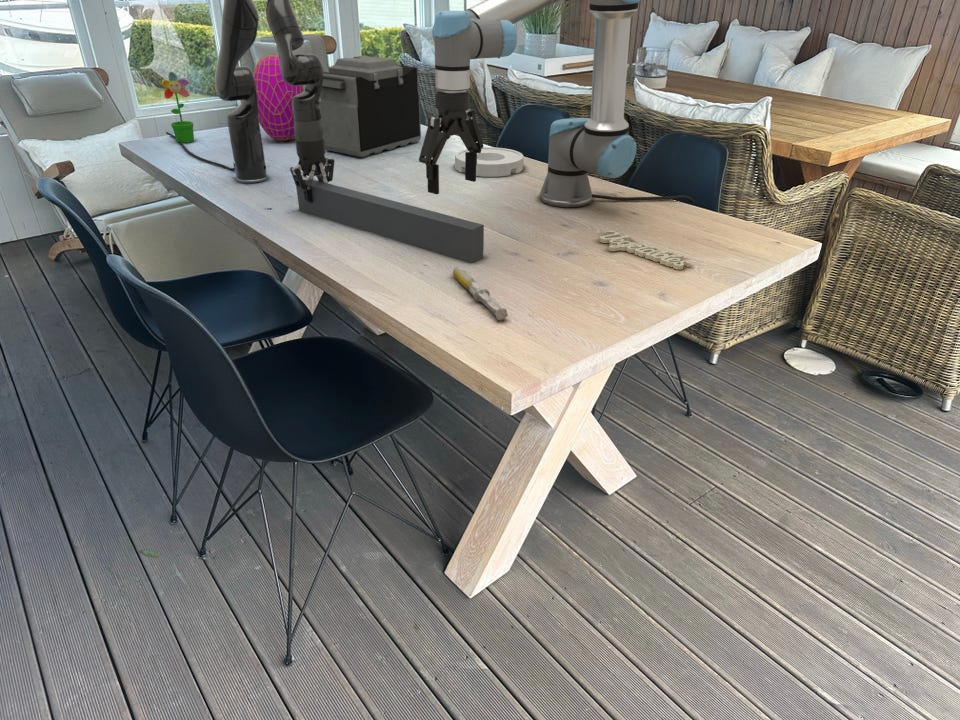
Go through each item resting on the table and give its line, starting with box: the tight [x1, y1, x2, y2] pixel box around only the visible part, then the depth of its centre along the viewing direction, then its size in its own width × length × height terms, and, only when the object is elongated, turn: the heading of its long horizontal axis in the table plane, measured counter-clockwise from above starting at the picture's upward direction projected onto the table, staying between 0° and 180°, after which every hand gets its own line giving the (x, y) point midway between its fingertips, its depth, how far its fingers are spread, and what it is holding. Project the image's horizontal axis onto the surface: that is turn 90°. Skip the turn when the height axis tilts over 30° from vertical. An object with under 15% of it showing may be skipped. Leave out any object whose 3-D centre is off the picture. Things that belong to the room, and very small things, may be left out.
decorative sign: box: [599, 230, 690, 270], centre depth 167 cm, size 26×1×10 cm
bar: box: [296, 179, 485, 264], centre depth 176 cm, size 61×4×8 cm, turn 53°
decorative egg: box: [252, 54, 305, 142], centre depth 257 cm, size 19×19×30 cm
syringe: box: [452, 266, 509, 321], centre depth 145 cm, size 25×4×3 cm, turn 21°
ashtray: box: [454, 146, 525, 178], centre depth 232 cm, size 23×23×4 cm
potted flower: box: [160, 71, 195, 144], centre depth 255 cm, size 9×8×25 cm
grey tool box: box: [320, 55, 422, 159], centre depth 250 cm, size 37×22×30 cm, turn 144°
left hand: (316, 199), depth 190 cm, fingers closed on bar, 4 cm apart
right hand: (452, 186), depth 160 cm, fingers open, 13 cm apart
